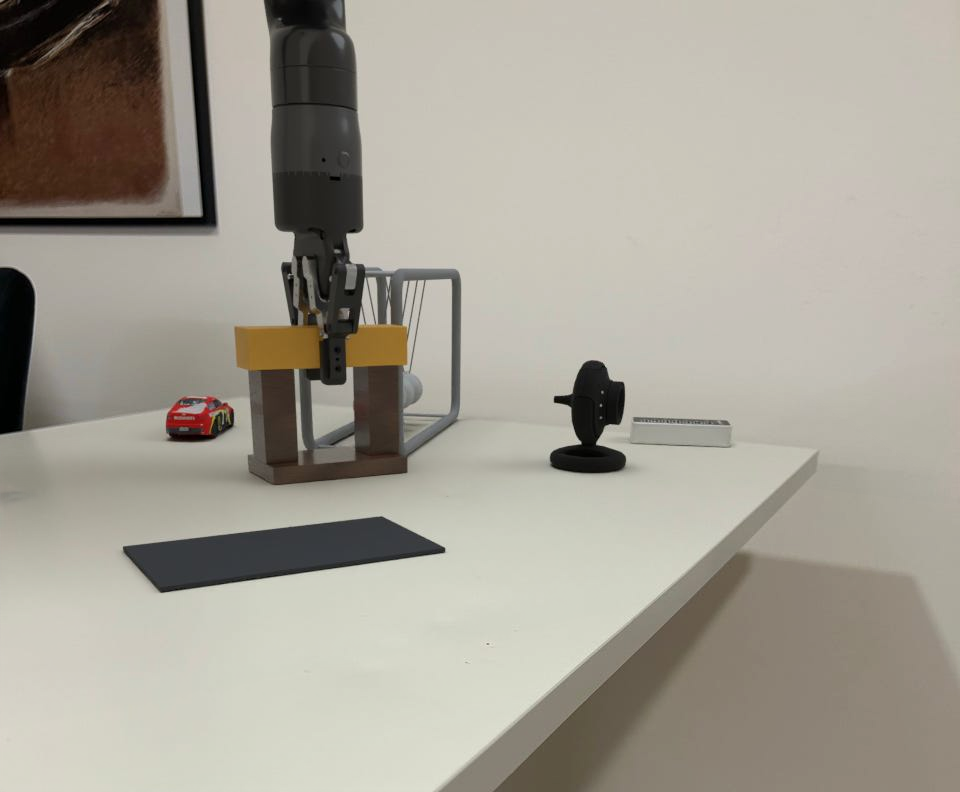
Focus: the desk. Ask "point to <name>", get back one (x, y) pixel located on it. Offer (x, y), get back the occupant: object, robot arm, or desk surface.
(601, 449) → the webcam
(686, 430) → the multiport hub
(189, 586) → the mat
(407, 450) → the newton's cradle
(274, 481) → the wooden u-shaped stand
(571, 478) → the desk surface
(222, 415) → the race car
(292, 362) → the bar
